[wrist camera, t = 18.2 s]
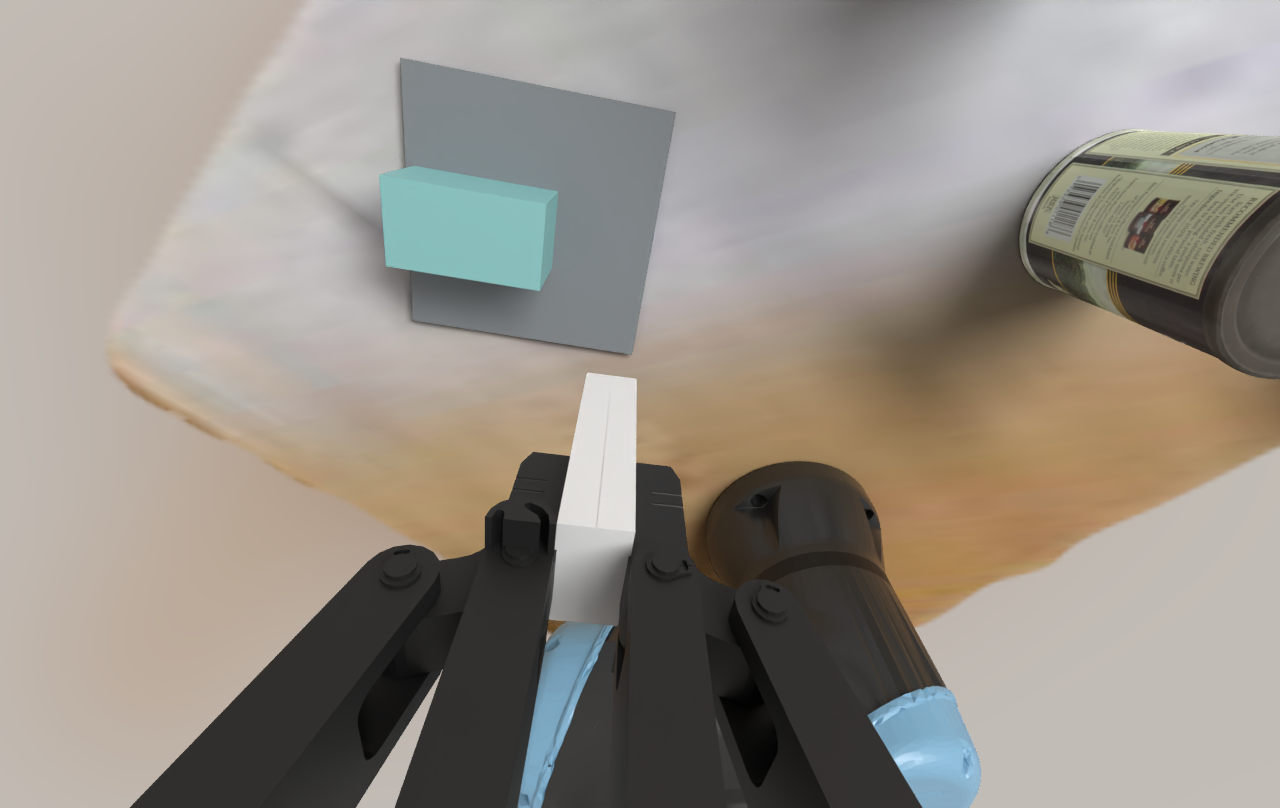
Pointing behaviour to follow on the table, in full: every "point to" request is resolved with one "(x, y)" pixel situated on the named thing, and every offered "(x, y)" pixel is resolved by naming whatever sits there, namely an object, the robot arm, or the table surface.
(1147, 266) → the coffee can
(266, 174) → the table surface
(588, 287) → the mat
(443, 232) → the block
